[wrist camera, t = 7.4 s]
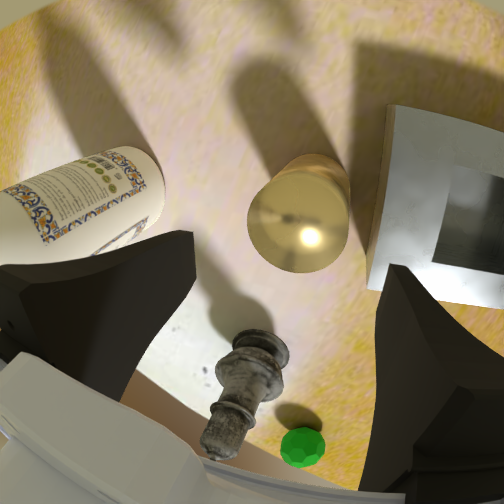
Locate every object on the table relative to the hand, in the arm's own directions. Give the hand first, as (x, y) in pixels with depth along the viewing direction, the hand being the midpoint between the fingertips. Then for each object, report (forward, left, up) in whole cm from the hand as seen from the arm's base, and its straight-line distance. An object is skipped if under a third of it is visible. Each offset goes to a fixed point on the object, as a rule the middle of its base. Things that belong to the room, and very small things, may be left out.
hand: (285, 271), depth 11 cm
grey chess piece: (+3, +15, -10) cm, 18 cm away
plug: (0, 0, -10) cm, 10 cm away
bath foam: (+14, +1, -10) cm, 17 cm away
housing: (-10, -1, -10) cm, 14 cm away
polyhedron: (-3, +27, -10) cm, 29 cm away
